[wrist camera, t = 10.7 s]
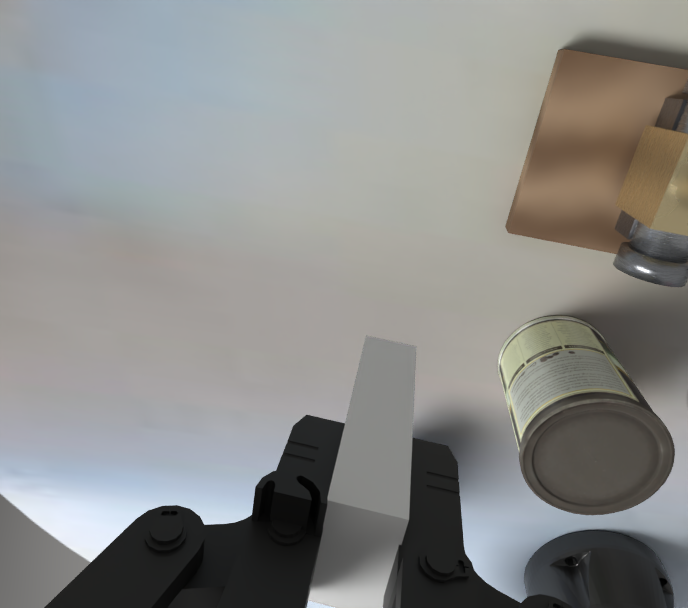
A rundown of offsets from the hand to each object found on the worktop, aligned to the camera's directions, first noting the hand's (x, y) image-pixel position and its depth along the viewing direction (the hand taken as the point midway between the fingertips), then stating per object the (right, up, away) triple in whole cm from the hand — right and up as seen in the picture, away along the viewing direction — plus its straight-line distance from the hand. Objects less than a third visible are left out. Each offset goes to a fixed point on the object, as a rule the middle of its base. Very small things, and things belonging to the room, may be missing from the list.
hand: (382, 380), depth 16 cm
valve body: (+23, +12, +24) cm, 36 cm away
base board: (+24, +13, +26) cm, 38 cm away
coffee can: (+19, -3, +34) cm, 39 cm away
